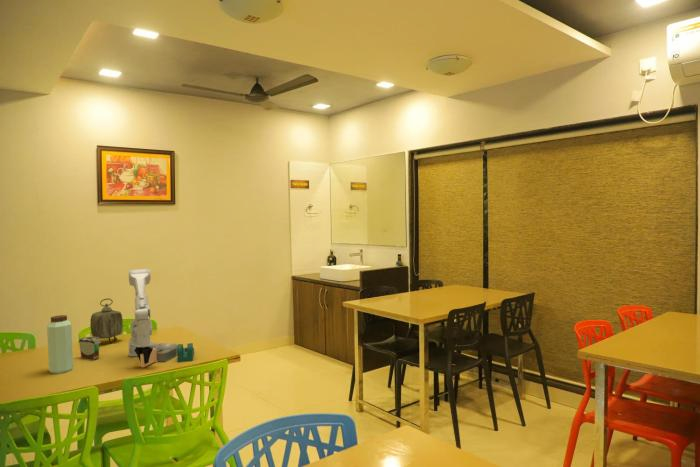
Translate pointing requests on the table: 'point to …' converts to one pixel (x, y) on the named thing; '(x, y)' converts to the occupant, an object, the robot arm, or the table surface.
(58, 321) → the water bottle
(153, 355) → the orange wooden slat
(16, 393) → the table surface
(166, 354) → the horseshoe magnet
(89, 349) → the food container
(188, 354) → the bracket
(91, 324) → the tabletop clock
